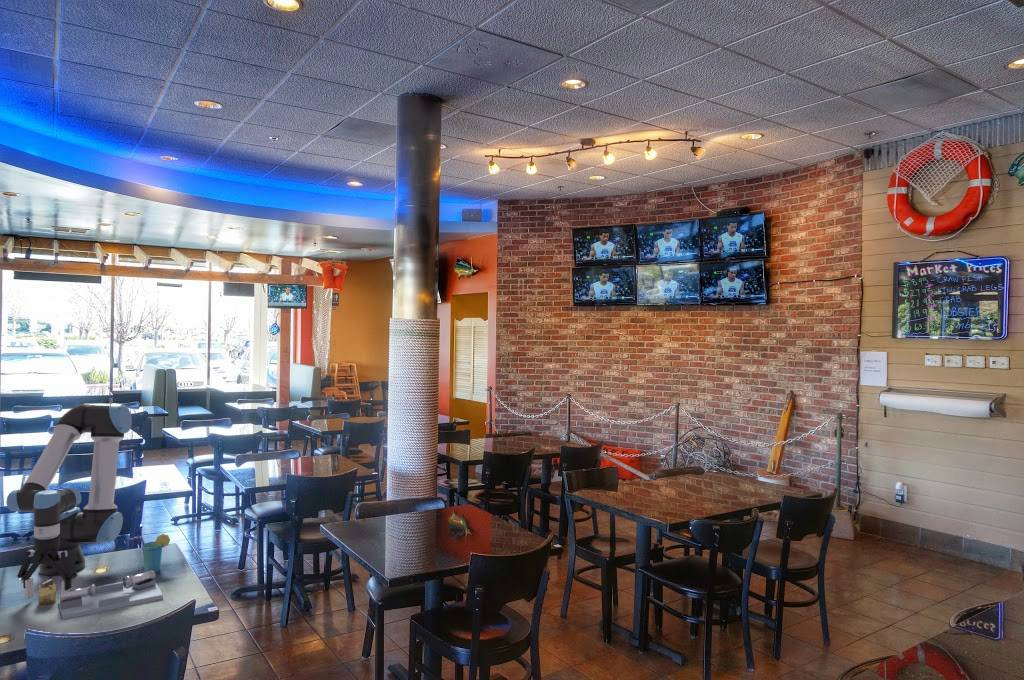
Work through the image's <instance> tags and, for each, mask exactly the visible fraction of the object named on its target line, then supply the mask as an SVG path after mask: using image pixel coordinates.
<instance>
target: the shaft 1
mask: <svg viewBox="0 0 1024 680" xmlns="http://www.w3.org/2000/svg"><path fill="white" fill-rule="evenodd" d="M95 587H96V584H95V583H91V584H90V585H89V586H85V587H81V588H76V589H69V591H64V592H62V591H60V592H59V599H60V602H61V601H66V600H71V599H76V598H81V597H86V596H91V597H95V594H96V590H95Z"/></svg>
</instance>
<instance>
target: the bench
mask: <svg viewBox="0 0 1024 680" xmlns="http://www.w3.org/2000/svg"><path fill="white" fill-rule="evenodd" d="M95 590H96V594H95V597H91V596H86V597H81V598H76V599H71V600H66V601H61V602H60V598H59V599H58V601H57V602H58V608H59V611H60V616H61V620H67V619H71V618H76V617H77V618H78V617H81V616H85V615H87V616H88V615H91V614H96V613H101V612H105V611H110V610H115V609H120V608H124V607H130V606H134V605H140V604H144V603H149V602H154V601H159V600H163V599H164V593H162V591H161V589H160V587H159V585H158V584H157V583H156V586H153V587H150V588H147V589H144V590H141V591H138V590H136V589H134V588H132V587H131V588H128V589H126V588H125V587H124V586H123V581H119V582H113V583H108V584H104V585H98V586H96V585H95Z"/></svg>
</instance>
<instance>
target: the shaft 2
mask: <svg viewBox="0 0 1024 680" xmlns="http://www.w3.org/2000/svg"><path fill="white" fill-rule="evenodd" d="M156 575H157V573H155V571H154V570H152V571H148V572H145V571H144V572H141V573H139V574H134V575H132V576H130V575H126V576H124V577H122V582H123V587H125V588H126V589H128V588H131V587H132V588H134V589H136V590H138V591H141V590H144V589H147V588H150V587H153V586H156V584H157V583H156V582H157V580H156Z"/></svg>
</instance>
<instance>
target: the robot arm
mask: <svg viewBox="0 0 1024 680" xmlns="http://www.w3.org/2000/svg"><path fill="white" fill-rule="evenodd" d="M132 419H133V418H132V413H131V411H130V409H129V407H128V406H127V405H125V404H122V403H115V402H114V403H107V402H105V403H103V402H102V403H100V402H99V403H96V402H95V403H91V402H86V403H81V404H78V405H75V406H74V407H72V408H70V409H69V410H68V411H67V412H66V413H64V414H63V415H62V416H61V417H60V418H59V419H58V420H57V422H56V423H55V425H54V427H53V429H52V432H53V434H52V436H51V438H50V439H49V440H48V443H47V444H46V446H45V447H44V450H43V451H42V453H41V454H40V456H39V458H38V460H37V462H36V463H35V465H34V467H33V468H32V470H31V471H30V474H29V475H28V477H27V478H26V480H25V481H24V484H23V485H22V486H21V488H20V489H14V490H12V491H10V492H9V493H8V495H7V496H6V506H7V509H8V510H10V511H11V512H20V513H24V512H27V513H28V512H33V537H34V539H33V548H31V549H29V550H27V551H25V555H24V560H23V561H22V564H21V566H20V569H19V571H18V573H17V578H18V579H22V581H23V582H22V583H23V586H22V588H23V589H24V594H25V595H24V596H25V597H24V598H25V599H24V600H28V599H30V598H33V597H34V577H32V575H33V574H34V573H35V571H36V570H37V569H39V570H38V571H39V574H41V575H44V576H60V577H61V578H62V579H63V580H62V581H61V592H64V591H69V590H71V589H72V580H73V579H74V578H77V576H78V573H77V572H78V571H80V570H82V569H84V568H85V567H86V559H85V556H84V554H83V551H82V547H81V544H83V543H84V544H94V543H95V544H102V543H103V544H104V543H105V544H107V543H111V542H113V541H114V540H115V539H117V537H118V536H119V534H120V532H121V530H122V528H123V522H124V517H123V513H121V512H120V511H118V505H116V503H114V502H115V492H116V491H115V490H116V483H117V482H116V480H117V470H118V460H119V449H120V442H121V441H122V440H123V439H124V438H125V434H127V433H129V432H130V430H131V428H132V425H133V420H132ZM85 433H90V439H92V440H93V442H94V444H93V453H92V454H93V456H92V464H91V474H90V483H89V484H90V485H89V492H88V494H89V496H88V503H87V504H86V505H85V506H84V507H83V511H81V508H80V504H81V502H82V494H81V492H80V491H79V489H77V488H74V487H68V488H64V489H62V490H60V489H57V490H56V489H49V487H50V485H51V483H52V482H53V479H54V478H55V477H56V475H57V473H58V471H59V469H60V468H61V466H62V464H63V462H64V460H65V458H66V457H67V455H68V453H69V451H70V450H71V447H73V445H74V443H75V441H78V440H79V439H80V437H82V435H83V434H85ZM78 506H79V507H78ZM34 557H35V559H34V560H33V558H34ZM32 560H33V562H32ZM31 563H32V564H31Z"/></svg>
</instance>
